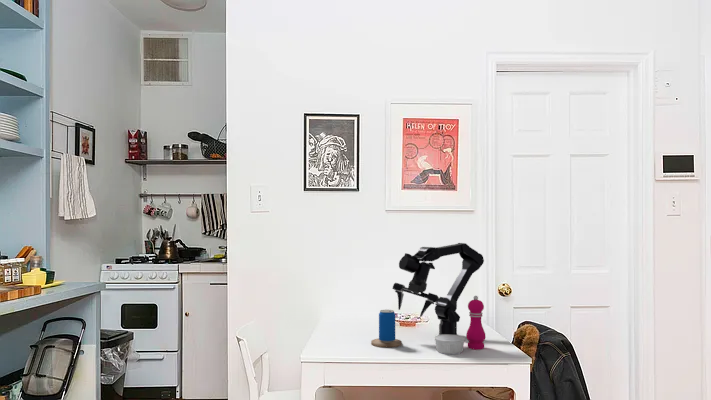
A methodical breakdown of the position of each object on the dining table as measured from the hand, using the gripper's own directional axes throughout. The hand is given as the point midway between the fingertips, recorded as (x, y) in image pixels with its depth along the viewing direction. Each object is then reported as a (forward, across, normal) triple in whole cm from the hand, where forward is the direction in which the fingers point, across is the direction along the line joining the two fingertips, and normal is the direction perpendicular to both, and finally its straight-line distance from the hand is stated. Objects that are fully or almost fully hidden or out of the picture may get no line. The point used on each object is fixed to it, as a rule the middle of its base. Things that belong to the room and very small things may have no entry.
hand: (409, 313), depth 229 cm
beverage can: (+13, -4, -6) cm, 15 cm away
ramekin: (+10, +20, -11) cm, 25 cm away
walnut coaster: (+14, -4, -6) cm, 16 cm away
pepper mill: (+5, +29, -3) cm, 30 cm away
